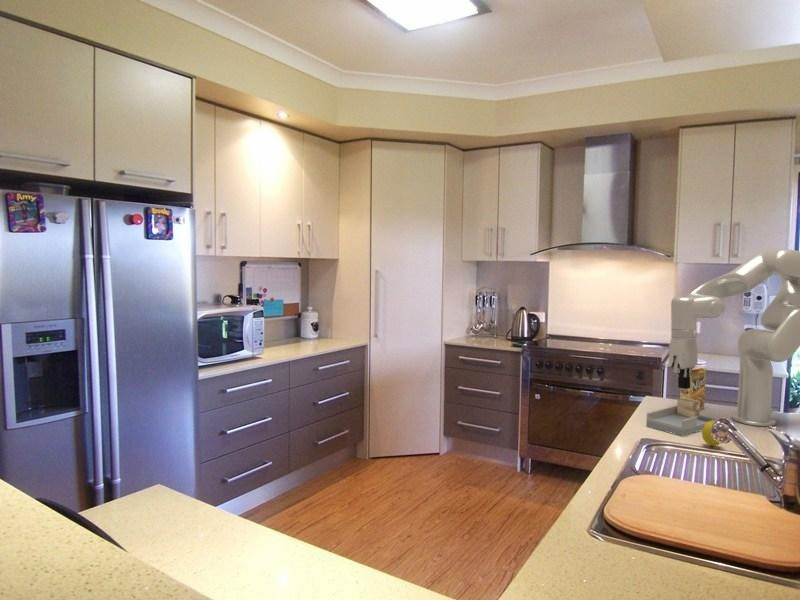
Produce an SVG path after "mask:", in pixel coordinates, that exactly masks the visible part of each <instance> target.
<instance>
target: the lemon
mask: <svg viewBox="0 0 800 600" xmlns="http://www.w3.org/2000/svg"><path fill="white" fill-rule="evenodd" d="M714 422H715V421H714V420H712V421H710V422H707V423H706V424H705V425H704V427H703V429H702V431H701V435H702V439H703V441H704V442H705V443H706V444H707V445H709V446H710V447H711V446H714V447H715V446H719V445H721V443H719V442H717V441H716V440H714V439H713V438H712V436H711V426H712V424H713V423H714Z"/></svg>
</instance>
